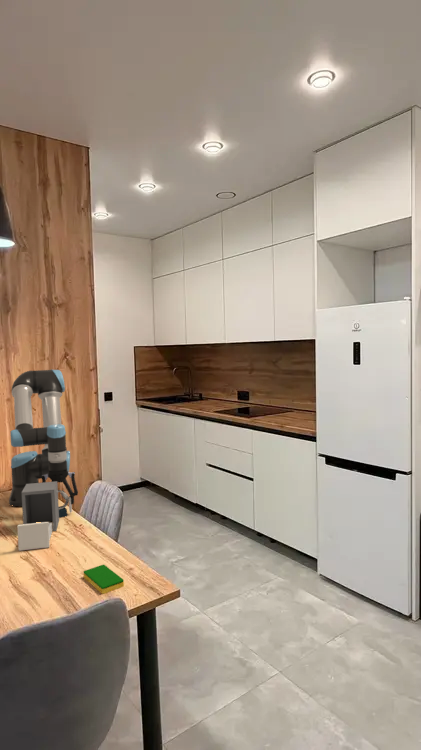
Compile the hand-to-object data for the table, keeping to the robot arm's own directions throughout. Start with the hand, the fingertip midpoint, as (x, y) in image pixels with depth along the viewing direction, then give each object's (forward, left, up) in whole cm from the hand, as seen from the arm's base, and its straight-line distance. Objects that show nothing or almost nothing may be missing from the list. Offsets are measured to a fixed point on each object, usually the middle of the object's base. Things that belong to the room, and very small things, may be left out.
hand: (60, 512), depth 205 cm
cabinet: (+12, -6, -1) cm, 13 cm away
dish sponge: (+65, +18, -2) cm, 68 cm away
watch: (0, 0, -2) cm, 2 cm away
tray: (+26, -6, -1) cm, 27 cm away
